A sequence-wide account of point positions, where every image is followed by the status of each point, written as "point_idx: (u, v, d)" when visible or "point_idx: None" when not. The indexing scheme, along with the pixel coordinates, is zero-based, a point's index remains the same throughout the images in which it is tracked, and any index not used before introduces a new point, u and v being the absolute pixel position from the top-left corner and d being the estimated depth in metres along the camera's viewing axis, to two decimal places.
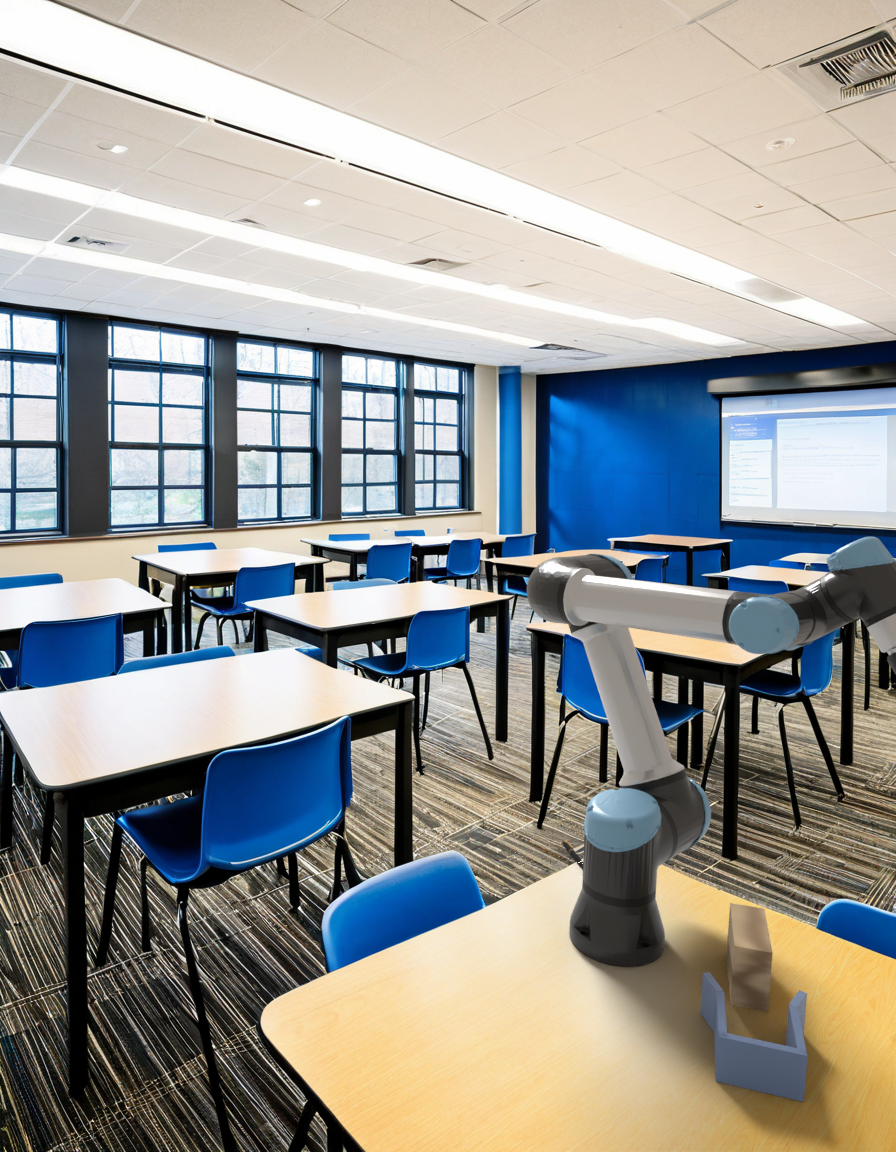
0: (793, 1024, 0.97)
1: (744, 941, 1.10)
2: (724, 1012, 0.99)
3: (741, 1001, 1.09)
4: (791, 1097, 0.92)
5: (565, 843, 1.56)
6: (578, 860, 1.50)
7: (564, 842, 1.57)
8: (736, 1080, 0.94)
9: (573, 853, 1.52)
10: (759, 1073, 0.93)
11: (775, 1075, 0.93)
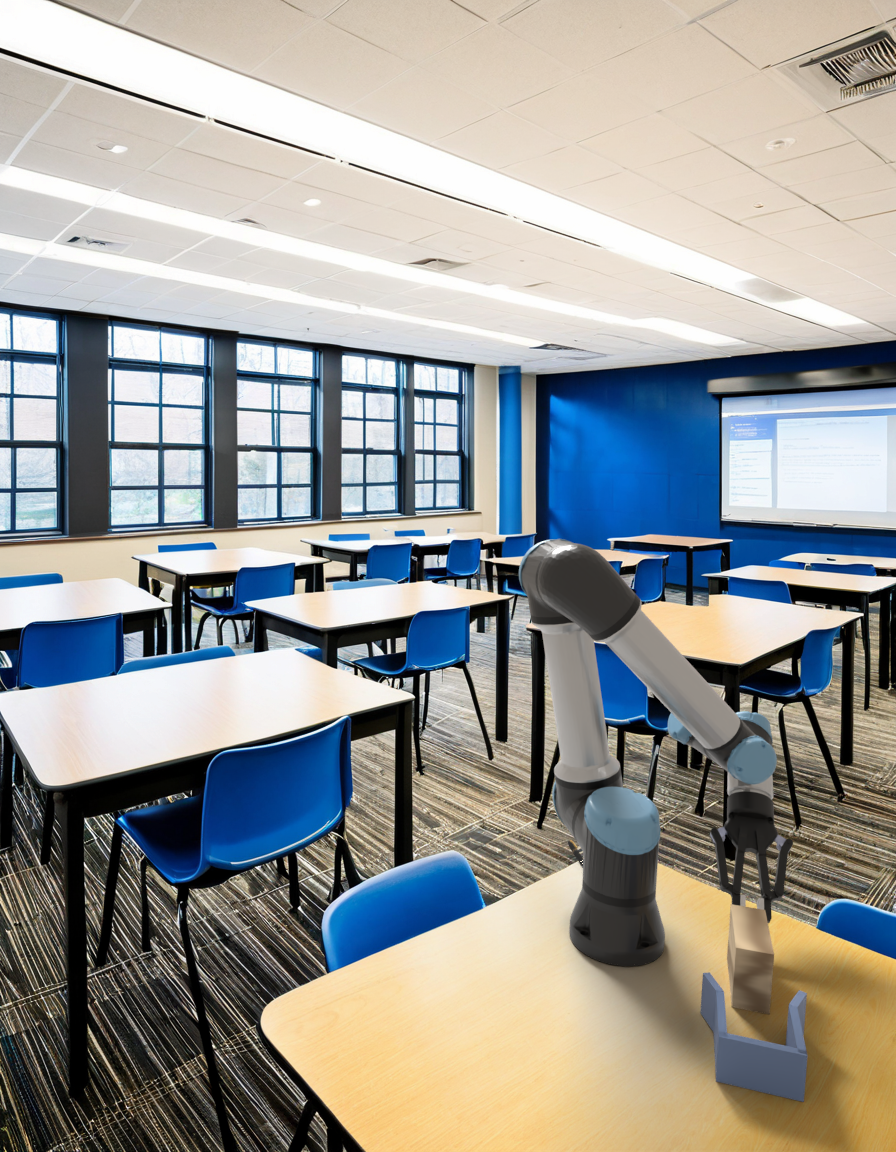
0: (793, 1024, 0.97)
1: (745, 942, 1.09)
2: (724, 1012, 0.99)
3: (742, 1003, 1.08)
4: (791, 1097, 0.92)
5: (570, 843, 1.57)
6: (580, 860, 1.50)
7: (569, 842, 1.57)
8: (736, 1080, 0.94)
9: (576, 853, 1.52)
10: (759, 1073, 0.93)
11: (775, 1075, 0.93)
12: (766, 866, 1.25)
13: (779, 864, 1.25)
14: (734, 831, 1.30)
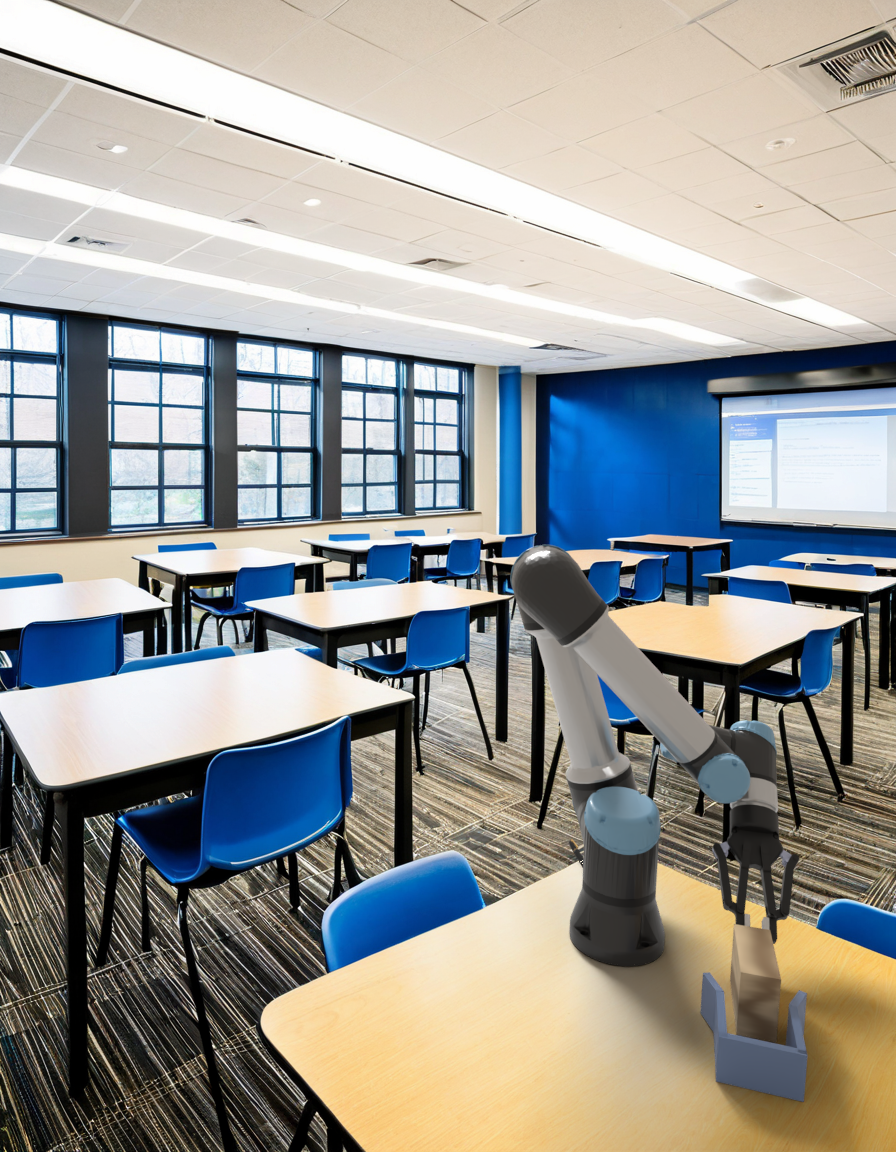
0: (793, 1024, 0.97)
1: (750, 966, 1.04)
2: (724, 1012, 0.99)
3: (747, 1031, 1.03)
4: (791, 1097, 0.92)
5: (571, 842, 1.57)
6: (581, 859, 1.50)
7: (570, 841, 1.57)
8: (736, 1080, 0.94)
9: (577, 852, 1.52)
10: (759, 1073, 0.93)
11: (775, 1075, 0.93)
12: (771, 883, 1.20)
13: (785, 881, 1.20)
14: (737, 846, 1.24)
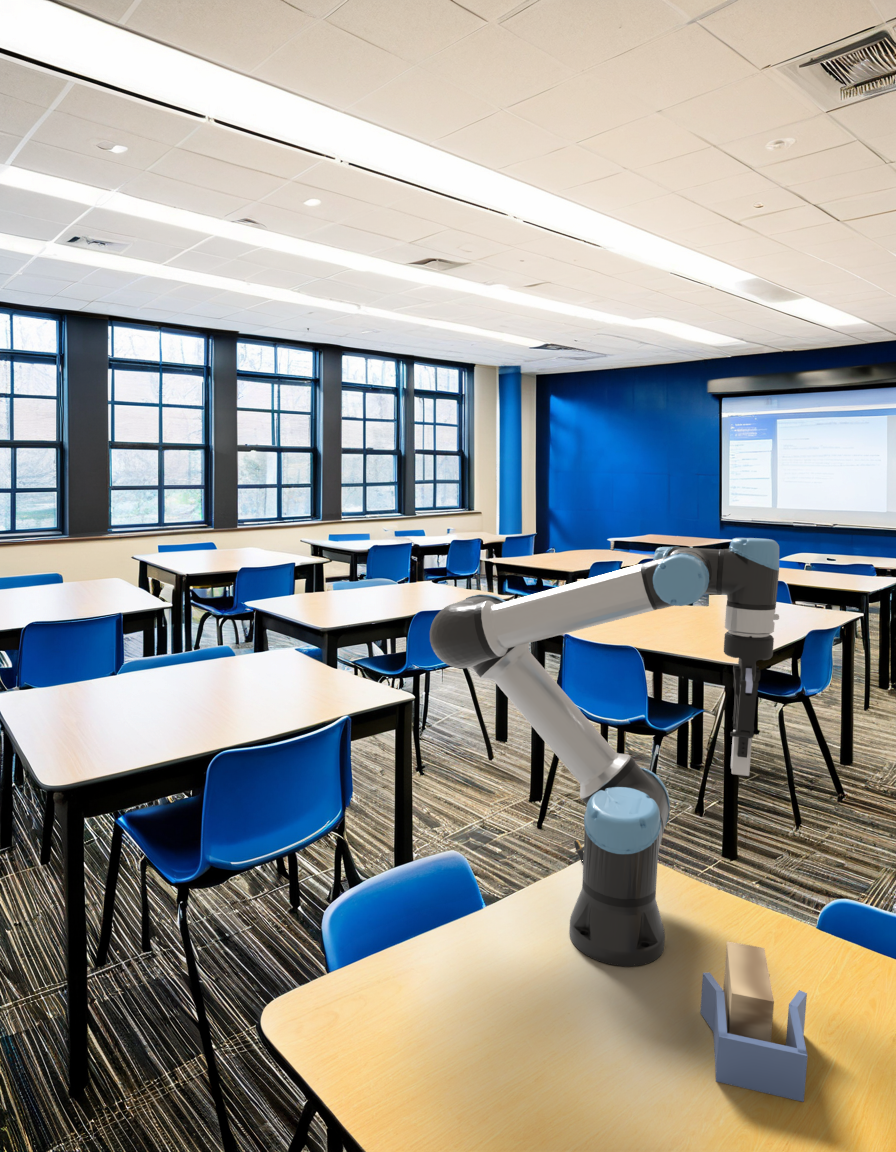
0: (793, 1024, 0.97)
1: (742, 987, 0.99)
2: (724, 1012, 0.99)
3: None
4: (791, 1097, 0.92)
5: (576, 842, 1.57)
6: None
7: (575, 841, 1.57)
8: (736, 1080, 0.94)
9: (580, 853, 1.52)
10: (759, 1073, 0.93)
11: (775, 1075, 0.93)
12: (737, 706, 1.25)
13: None
14: None
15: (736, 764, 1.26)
